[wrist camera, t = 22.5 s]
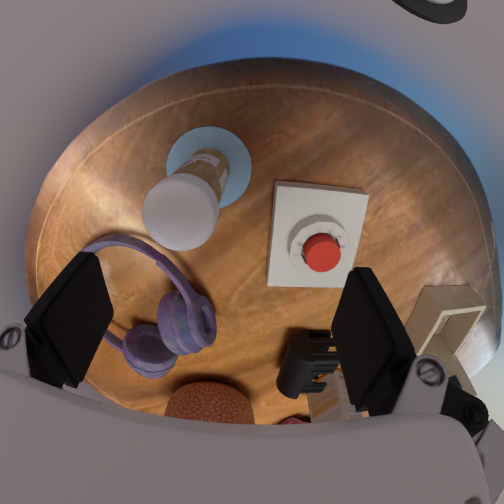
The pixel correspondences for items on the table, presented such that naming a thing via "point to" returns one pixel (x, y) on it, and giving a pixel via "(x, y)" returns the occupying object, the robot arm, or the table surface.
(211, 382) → the planter
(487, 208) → the table surface
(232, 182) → the coaster
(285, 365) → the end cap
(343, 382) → the supplement box
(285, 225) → the button block
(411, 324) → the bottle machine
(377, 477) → the robot arm
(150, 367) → the headphones
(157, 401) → the table surface
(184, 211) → the sprinkles bottle
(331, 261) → the release button
